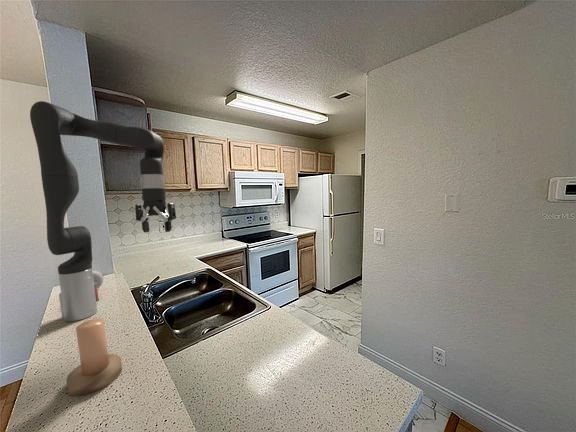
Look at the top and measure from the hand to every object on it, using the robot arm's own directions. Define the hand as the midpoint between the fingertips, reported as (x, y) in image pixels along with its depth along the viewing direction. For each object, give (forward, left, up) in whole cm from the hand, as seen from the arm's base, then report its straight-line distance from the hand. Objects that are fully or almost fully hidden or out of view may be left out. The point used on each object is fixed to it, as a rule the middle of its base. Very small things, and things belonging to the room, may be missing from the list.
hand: (157, 231), depth 87 cm
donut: (-48, +16, -30) cm, 59 cm away
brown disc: (+5, -33, -30) cm, 45 cm away
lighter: (-39, +8, -30) cm, 50 cm away
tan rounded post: (+5, -33, -28) cm, 43 cm away
